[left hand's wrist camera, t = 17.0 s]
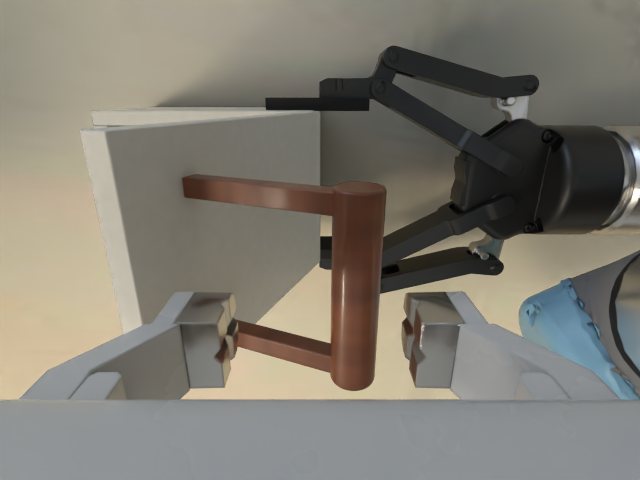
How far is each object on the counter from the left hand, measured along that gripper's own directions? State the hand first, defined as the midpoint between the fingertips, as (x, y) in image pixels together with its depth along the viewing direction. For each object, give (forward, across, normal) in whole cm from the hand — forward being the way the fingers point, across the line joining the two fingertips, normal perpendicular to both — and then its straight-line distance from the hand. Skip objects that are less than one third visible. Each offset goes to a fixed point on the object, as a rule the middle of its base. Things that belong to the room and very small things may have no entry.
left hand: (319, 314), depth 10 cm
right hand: (+18, +3, 0) cm, 18 cm away
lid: (+8, +4, 0) cm, 9 cm away
